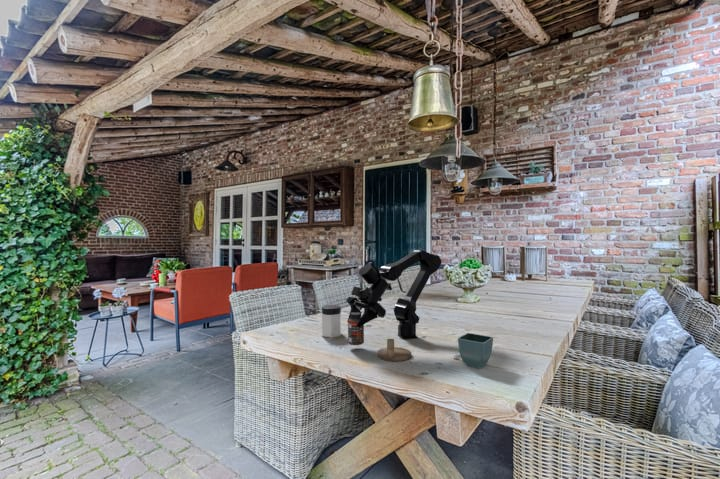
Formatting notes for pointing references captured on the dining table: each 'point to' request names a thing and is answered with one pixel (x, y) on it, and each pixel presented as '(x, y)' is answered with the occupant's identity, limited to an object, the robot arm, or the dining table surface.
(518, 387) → the dining table surface
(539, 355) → the dining table surface
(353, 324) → the supplement bottle
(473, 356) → the flower pot
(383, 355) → the flange plate
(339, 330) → the jar
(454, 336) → the dining table surface
